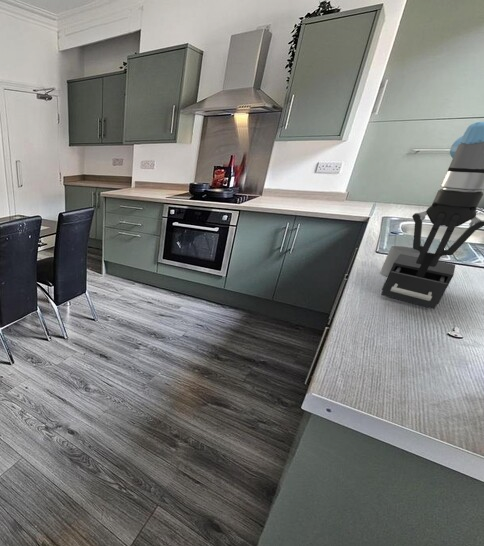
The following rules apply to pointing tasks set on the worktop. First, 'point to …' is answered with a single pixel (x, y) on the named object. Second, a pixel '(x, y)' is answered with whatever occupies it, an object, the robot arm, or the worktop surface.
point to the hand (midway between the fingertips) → (420, 275)
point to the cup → (394, 254)
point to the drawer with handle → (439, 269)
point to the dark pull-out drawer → (415, 287)
